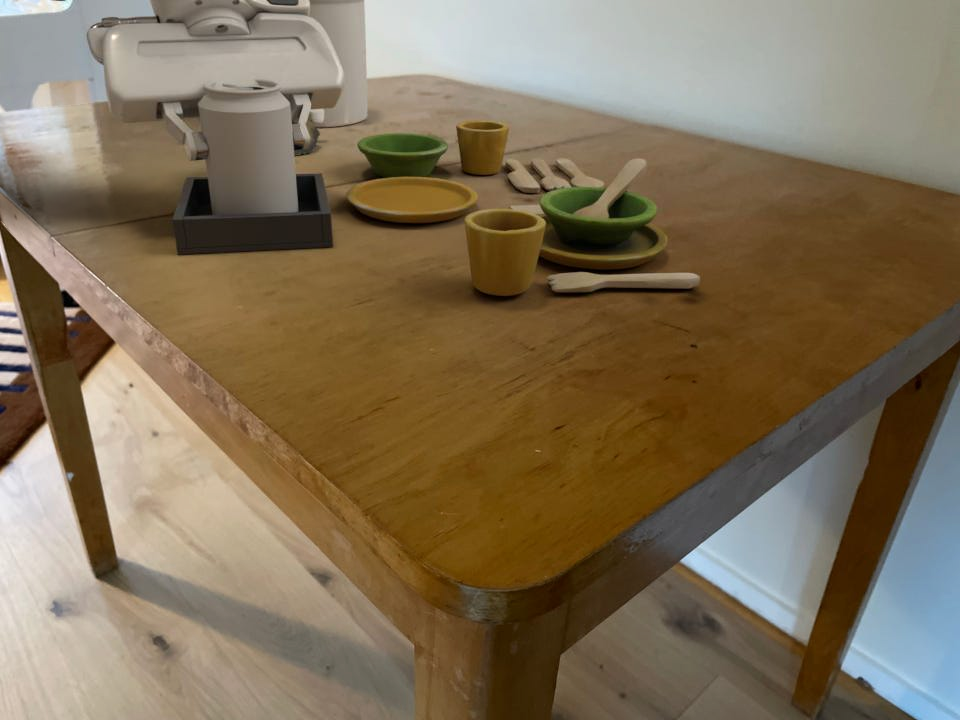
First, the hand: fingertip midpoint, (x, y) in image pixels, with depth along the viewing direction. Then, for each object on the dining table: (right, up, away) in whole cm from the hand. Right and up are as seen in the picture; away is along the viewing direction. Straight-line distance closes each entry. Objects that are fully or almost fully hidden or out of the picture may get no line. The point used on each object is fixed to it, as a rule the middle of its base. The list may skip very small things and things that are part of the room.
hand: (252, 151), depth 67 cm
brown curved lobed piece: (-4, +9, +30) cm, 32 cm away
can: (-1, -5, +4) cm, 7 cm away
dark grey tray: (-1, -6, +4) cm, 7 cm away
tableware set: (+21, -4, +9) cm, 23 cm away
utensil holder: (-4, +17, +46) cm, 49 cm away
